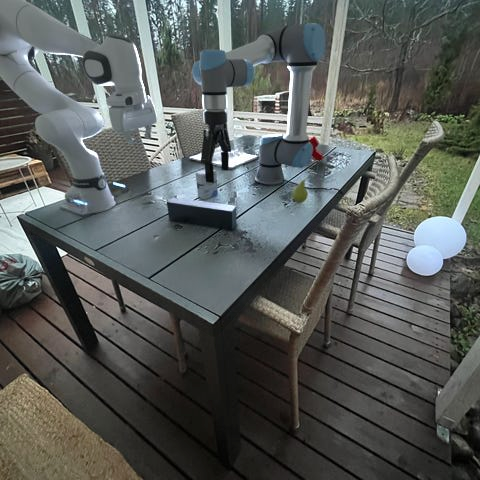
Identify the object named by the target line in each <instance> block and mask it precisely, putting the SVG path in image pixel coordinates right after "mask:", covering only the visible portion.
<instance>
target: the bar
mask: <svg viewBox="0 0 480 480" xmlns="http://www.w3.org/2000/svg"><path fill="white" fill-rule="evenodd" d="M166 207H167V212H168V213H167V214H168V220H169V222H174V223H179V224H186V225H191V226H197V227H198V226H199V227H205V228H208V229H209V228H210V229H217V230H222V231H228V232H233V231H234V230H235V229H236V227H237V206H236V205H231V204H224V203H216V202H210V201H202V200H196V199H188V198H181V197H174V196H172V197H171V198H170V199H168V200H167V201H166Z"/></svg>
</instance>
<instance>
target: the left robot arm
mask: <svg viewBox="0 0 480 480" xmlns="http://www.w3.org/2000/svg"><path fill="white" fill-rule="evenodd" d="M38 51H42V52H44V53H48V54H52V55H53V54H54V55H65V56H66V55H67V56H68V55H69V56H75V57H81V58H82V62H81V63H82V69H83V72H84V74H85V76H86V78H87V79H88V80H89V81H90V82H91V83H92V84H94V85H97V86H101V87H104V86H114V89H115V90H114V92H113V93H112V94H111V95H109V96H108V97H107V98H106V99H105V102H106V105H107V106H108V107H109V108H108V116H109V120H110V124H111V128H112V130H113V131H114V132H115V133H116V134H118V133H119V134H123V136H124V137H125V139H126V141H127V144H128V145H129V146H135V145H136V140H135V138H133V137H132V131H136V130H139V129H141V128H144V129H145V131H144V132H145V133H143V134H144V135H143V136H144V139H146V140H151V139H152V130H153V126H152V125H155V124H157V123H158V116H157V112H156V107H155V104H154V102H153V99H152V98H151V97H150V96H149V95H146V91H145V85H144V83H143V79H142V65H141V61H140V57H139V53H138V50H137V47H136V44H135V42H134V40H132V39H130V38H129V37H126V36H121V35H120V36H119V35H115V34H109V35H106V37H105V39H104V40H103V42H102V43H100V42H97V41H96V40H94V39H92V38H90V37H88V36H86V35H85V34H83V33H81V32H78V31H77V30H75V29H74V28H72V27H71V26H68V25H67V24H65V23H64V22H62V21H61V20H59V19H57V18H55V17H54V16H53V15H51V14H49V13H47V12H46V11H44V10H43V9H41V8H40V7H38V6H36V5H34V4H32V3H31V2H28V1H26V0H0V78H1V79H2V80H3V82H4V83H5V84H6V85H7V86H8V87H9V88H10V89H11V90H12V91H13V93H14V94H16V95H17V96H18V97H19V98H20V99H21V100H22V101H24V103H26V104H27V106H29V107H30V108H31V109H32V110H33V111H35V112H37V113H39V114H40V115H38V116H37V117H36V118H35V121H34V126H35V130H36V133H37V134H38V136H39V137H40V138H41V139H42V140H43V141H44V142H46V144H49V145H51V146H53V147H54V148H56V149H57V150H58V151H59V152H60V153H61V154H62V156H63V157H64V158H65V161H66V163H67V165H68V167H69V170H70V173H71V175H72V176H71V177H69V178H68V180H69V182H71V186H70V187H69V188H68V190H67V191H66V192H65V193H64V199H65V202H64V203H62V205H61V209H62V210H65V211H67V212H70V213H73V214H76V215H79V216H87V215H90V214H91V215H92V214H96V213H102V212H106V211H108V210H110V209H112V208H114V206H115V205H116V201H115V197H114V195H112V192H111V189H110V187H109V185H108V183H107V178H106V174H105V173H104V171H103V168H102V166H101V162H100V158H99V156H98V153H96V152H95V151H93V150H92V149H88V148H87V146H86V145H85V143H84V142H83V140H85V139H88V138H91V137H95V136H96V135H98V134H99V133H100V132H102V130H103V129H104V120H103V117H102V116H101V113H99V111H98V110H97V109H95V108H93V107H90V106H87V105H85V104H82V103H81V102H78V101H77V100H75V99H73V98H71V97H70V96H67V95H66V94H65V93H63V92H61V91H60V90H58V89H57V88H56V87H55V86H54V85H52V84H51V83H50V82H49V81H48V80H47V79H46V78H45V77H44V76H43V75H42V74H41V73H40V72H39V71H37V69H35V68H34V67H33V66H32V65H31V63H30V62H32V61H35V59H36V55H37V54H38ZM113 185H115V186H117V187H118V186H119V187H122V188H126V185H125V184H122V183H118V182H113Z"/></svg>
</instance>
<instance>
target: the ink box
mask: <svg viewBox="0 0 480 480" xmlns="http://www.w3.org/2000/svg"><path fill="white" fill-rule="evenodd" d="M213 170H214V183H209V182H206V177H205V169H204V170H200V171H196V172H195V178H196V179H195V180H196V190H197V197H198V198H200V199H202V200H207V199H210V198H211V197H214V196H217V195H219V194H218V193H219V192H218V179H217V178H218V176H217V170H215V169H213Z"/></svg>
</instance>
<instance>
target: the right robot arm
mask: <svg viewBox="0 0 480 480" xmlns="http://www.w3.org/2000/svg"><path fill="white" fill-rule="evenodd" d="M325 51H326V35H325V32H324V28H323V27H322V26H321V24H319V23H315V22H313V23H312V22H307V23H301V24H293V25H291V24H290V25H284V26H280V27H278V28H275V29H273V30H270V31H268V32H265V33H264V34H261V35H260V36H258V37H257V39H256V40H255V41H252V42H249V43H247V44H244V45H241V46H239V47H237V48H234V49H232V50H229V51H227V52H226V51H225V50H223V49H203V50H201V51H200V52H199V60H196V61H195V62H194V63H193V66H192V71H191V73H192V77H193V79H194V81H195V83H197V84H198V85H199V86H201V101H202V109H203V112H202V114H203V116H202V117H203V124H205V125H207V126H208V128H207V129H203V131H202V132H203V133H202V134H203V135H202V137H203V138H202V145H201V146H202V147H201V152H202V153H201V152H200V153H201V162H200V163H201V164H204V170H205V177H206V182H209V183H214V170H215V169H214V165H213V163H212V159H213V155H214V151H215V149H216V148H217V147H216V146H217V145H219V147H221V150H222V151H223V152H221V166H220V167H221V171H226V172H227V171H228V172H229V171H230V168H229V153H228V152H231V150H232V144H231V140H230V136H229V130H228V124H227V123H228V111H227V109H228V92H227V90H228V88H244V87H248V86H250V85H251V84H252V83H253V81H254V79H255V67H256V66H258V65H260V64H269V63H273V62H287V69H288V70H289V71H290V80H289V95H288V111H287V125H286V126H287V127H286V129H287V130H286V134H283V133H271V134H266V135H263V136H261V137H260V139H259V153H258V157H259V158H258V167H257V171H256V172H255V178H254V181H255V183H258V184H259V185H262V186H263V185H264V186H279V185H281V184H283V183H284V182H286V183H289V184H293V185H295V186H298V184H299V183H297V182H293V181H290V180H287V179H285V175H284V172H283V171H284V170H283V167H282V165H284V166H289V167H292V168H297V169H302V168H304V167H305V166H307V165H308V163H309V162H310V160H311V158H312V152H313V146H312V144H311V143H309V139H310V137H309V135H308V134H307V128H308V118H309V107H310V98H311V89H312V79H313V72H314V70H315V69H316V68H317V67H318V62H320V61H321V60H322V59H323V57H324V54H325ZM327 188H328V187H309V186H305V189H306V190H324V191H337V190H338V191H337V192H339V193H340V194H341V195H344V192H343V191H342V190H341V189H339V188H336V187H329V188H330V189H327ZM332 189H334V190H332Z"/></svg>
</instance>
